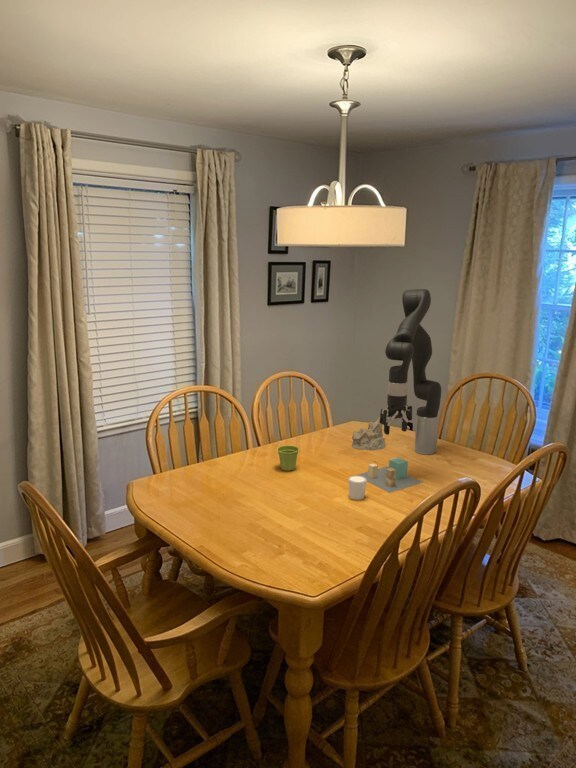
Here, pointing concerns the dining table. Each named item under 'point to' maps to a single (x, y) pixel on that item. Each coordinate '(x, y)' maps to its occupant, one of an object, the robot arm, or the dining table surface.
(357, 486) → the white cylinder
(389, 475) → the post tall
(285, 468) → the plant pot
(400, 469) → the teal block
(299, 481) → the dining table surface
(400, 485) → the board
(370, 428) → the ceramic cottage
